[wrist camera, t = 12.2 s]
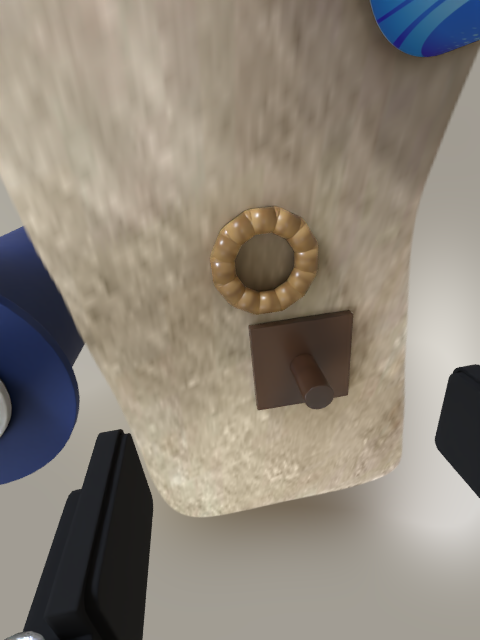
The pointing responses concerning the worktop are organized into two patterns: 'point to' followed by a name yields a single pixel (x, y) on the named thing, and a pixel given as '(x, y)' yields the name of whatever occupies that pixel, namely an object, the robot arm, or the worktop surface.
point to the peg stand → (301, 360)
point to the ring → (244, 230)
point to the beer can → (428, 24)
